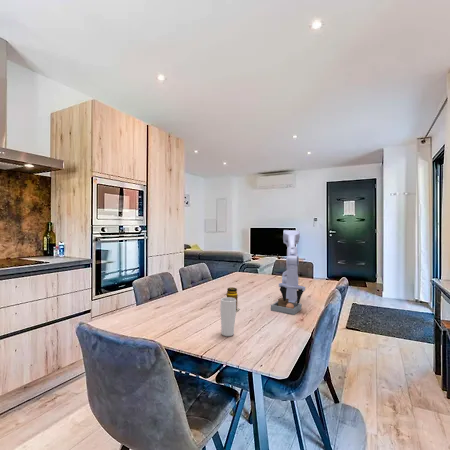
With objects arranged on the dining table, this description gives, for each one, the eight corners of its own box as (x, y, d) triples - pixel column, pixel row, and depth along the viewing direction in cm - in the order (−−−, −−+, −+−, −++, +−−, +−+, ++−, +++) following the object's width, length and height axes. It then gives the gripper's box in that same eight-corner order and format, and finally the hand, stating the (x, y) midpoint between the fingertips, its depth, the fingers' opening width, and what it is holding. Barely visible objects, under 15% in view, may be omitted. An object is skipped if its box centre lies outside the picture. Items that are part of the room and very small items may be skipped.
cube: (280, 305, 165) (281, 297, 165) (288, 306, 162) (288, 298, 162) (277, 306, 161) (278, 298, 161) (285, 308, 158) (285, 300, 159)
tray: (279, 305, 167) (279, 299, 167) (301, 309, 160) (301, 303, 160) (270, 310, 156) (271, 305, 156) (293, 315, 149) (293, 309, 149)
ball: (287, 309, 157) (287, 301, 157) (295, 310, 155) (295, 302, 155) (284, 311, 154) (284, 303, 153) (292, 313, 151) (292, 304, 151)
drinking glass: (235, 331, 125) (235, 297, 124) (236, 337, 118) (237, 301, 118) (219, 331, 124) (220, 297, 124) (219, 337, 118) (220, 301, 117)
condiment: (234, 313, 150) (234, 290, 150) (220, 310, 154) (220, 288, 154) (240, 309, 157) (240, 287, 156) (226, 306, 161) (227, 285, 161)
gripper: (276, 276, 156) (276, 301, 156) (302, 280, 148) (302, 305, 149) (281, 274, 162) (280, 298, 162) (306, 278, 154) (306, 302, 155)
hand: (291, 301), depth 156 cm, fingers open, 7 cm apart
